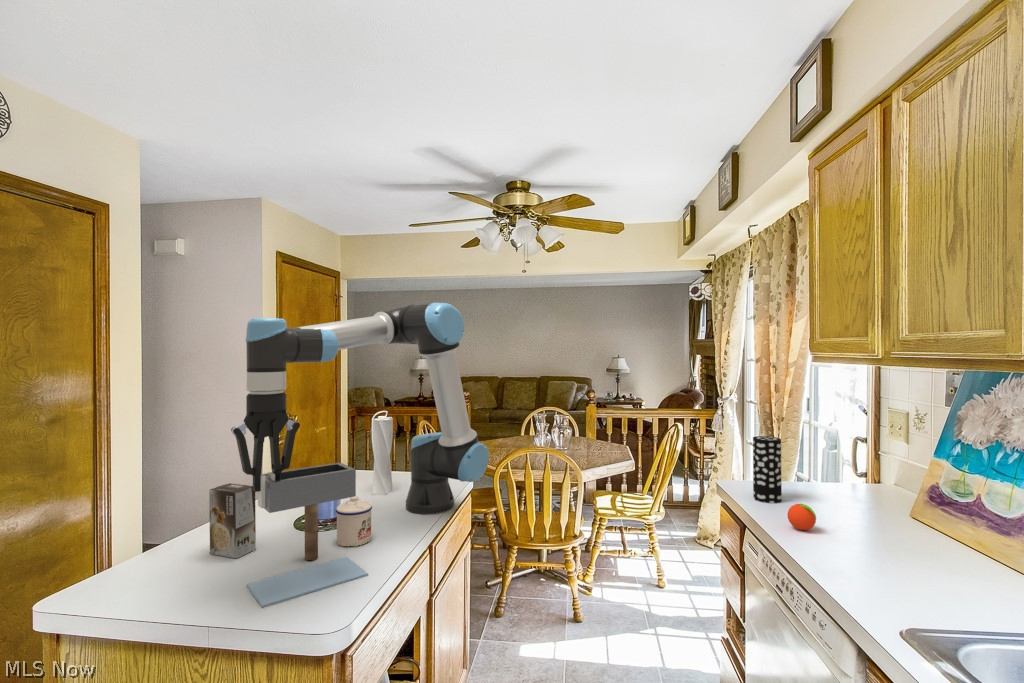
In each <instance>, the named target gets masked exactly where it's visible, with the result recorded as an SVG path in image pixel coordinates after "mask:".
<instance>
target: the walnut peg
mask: <svg viewBox="0 0 1024 683" xmlns="http://www.w3.org/2000/svg"><path fill="white" fill-rule="evenodd" d="M317 558H319V504H314V505H309V506H304V561H305V560H314V561H316V560H318V559H317ZM315 559H316V560H315Z"/></svg>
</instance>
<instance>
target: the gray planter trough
mask: <svg viewBox="0 0 1024 683" xmlns="http://www.w3.org/2000/svg"><path fill="white" fill-rule="evenodd" d="M356 471H357V469H356V468H353V467H351V466H349V465H347V464H344V463H342V462H335V463H329V464H322V465H320V464H319V465H315V466H307V467H301V468H293V469H285V470H283V471H282V472H281V473H280V480H277V481H273V480H272V479H270V478H269V477H268V472H267V473H262V474H263V475H265V508H263V509H264V510H265V511H266V512H268V514H271V513H277V512H283V511H288V510H292V509H297V508H302V507H303V508H305V506H309V505H314V504H318V505H319V504H323V503H329V502H334V501H340V500H344V499H350V497H355V496H357V495H356V494H357V489H356V488H357V486H356V485H357V482H356V481H357V480H356V479H357V478H356V476H357V475H356V474H357V473H356Z"/></svg>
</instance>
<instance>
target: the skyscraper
mask: <svg viewBox="0 0 1024 683" xmlns="http://www.w3.org/2000/svg"><path fill="white" fill-rule="evenodd" d="M382 413H385V415H380V416H377V415H378V414H382ZM388 413H389V411H387V410H380V411H377V412H376V413H375V414H374V415H373V416H372V418H371V446H372V452H373V458H374V463H373V476H372V492H371V493H372V495H381V494H386V495H385V496H387V495H388V494H389V493H391V492H392V491H393V477H392V475H393V474H392V465H391V458H390V457H391V451H392V446H393V439H394V438H393V436H394V423H393V422H394V419H393V417H392V416H388ZM376 416H377V418H375V417H376ZM387 416H388V417H387ZM390 491H391V492H390Z"/></svg>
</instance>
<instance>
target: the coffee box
mask: <svg viewBox="0 0 1024 683" xmlns="http://www.w3.org/2000/svg"><path fill="white" fill-rule="evenodd" d="M208 496H209V500H208V502H209V504H208V505H209V507H208V508H209V509H208V510H209V555H213V554H215V556H219V555H220V556H221V557H226V558H232V559H238V558H241V557H242V556H245V555H247V554H249V552H250V553H252V552H254V551H256V549H257V544H256V543H257V542H256V541H257V539H256V538H257V537H256V536H257V535H256V533H257V531H256V526H257V525H256V524H257V523H256V520H257V519H256V492H255V491H254V490H253V485H249V484H248V485H247V484H241V483H240V484H239V483H226V484H222V485H220V486H219V485H218V486H216V487H213V488H210V489H209V490H208ZM251 551H252V552H251Z"/></svg>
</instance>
